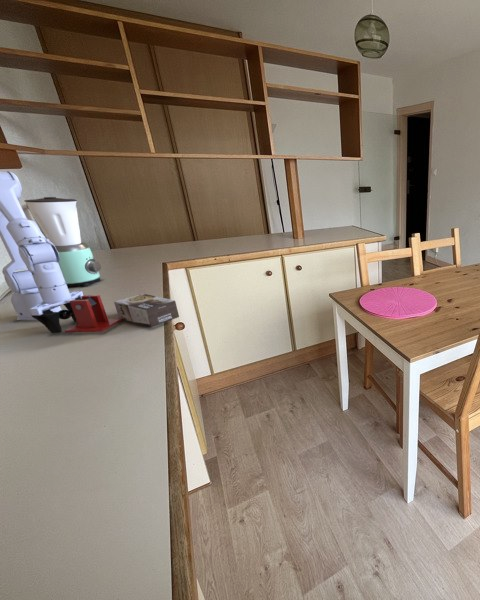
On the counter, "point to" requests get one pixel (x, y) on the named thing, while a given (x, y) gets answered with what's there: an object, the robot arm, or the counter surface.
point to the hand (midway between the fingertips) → (68, 327)
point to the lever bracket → (90, 315)
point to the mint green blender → (65, 238)
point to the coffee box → (146, 309)
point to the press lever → (67, 313)
